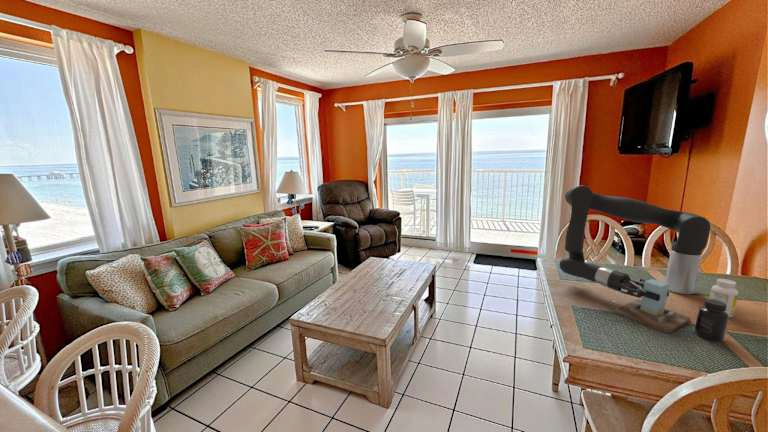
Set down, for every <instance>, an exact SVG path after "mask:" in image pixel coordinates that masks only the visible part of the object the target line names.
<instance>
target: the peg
mask: <svg viewBox="0 0 768 432" xmlns="http://www.w3.org/2000/svg"><path fill="white" fill-rule="evenodd" d="M668 286H669V284H668V283H665V281H661V280H657V279H653V278H650V279H648V280H646V281H645V282H644V288H643V289H644V290H646V291H649V292H652V293H655V294H658V295H660V296H661V297H660V300H659V301H656V300H653V299H650V298H647V297H641V300H642V301H641V308H640V310H642V311H645V312H647V313H650V314H653V315H655V316H658V317H660V316H662V315H664V309H666V302H667V298H668V297H667V292H668V291H669V290H668Z"/></svg>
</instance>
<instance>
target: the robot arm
mask: <svg viewBox="0 0 768 432" xmlns="http://www.w3.org/2000/svg"><path fill="white" fill-rule="evenodd" d="M564 197H565V201H566V203H567V204H568V205H570V206H571V212H570V213H571V214H570V218H569V223H568V226H567V230H566V233H565V241H564V243H565V244H564V250H565V251H566V252H567V253H568V257H564V258H562V259H561V260H560V261H559V264H558V265H559V268H560V270H561V271H562V272H563V273H564V274H567V275H570V276H573V277H578V278H582V279H585V280H587V281H590V282H593V283H595V284H599V285H601V286H603V287H605V288H607V289H611V290H614V291H616V292H620V293H621V294H624V295H627V296H628V295H629V296H632V297H635V298H638V299H642V297H647V298H650V299H653V300H656V301H659V300H660V297H661V296H660V295H658V294H655V293H652V292H649V291H646V290H644V282H645V281H647V280H646V279H642V278H640V279H639V280H637V279H631V277H630V275H629V274H628V273H625V272H622V271H618V270H616V269H615V270H614V269H612V268H608V267H603V266H600V265H598V264H597V265H596V264H593V263H586V262H585V254H584V244H585V243H584V242H585V234H586V233H585V232H586V226H587V220H588V215H589V210H593V211H597V212H601V213H603V214H606V215H610V216H612V217H615V218H619V219H622V220H626V221H629V222H634V223H638V224H639V223H640V224H649V225H651V224H652V225H657V226H661V227H664V228H665V229H666V228H667V229H668V230H669V229H670V230H672V231H674V232H677V233H678V237H677V240H676V242H673V243H672V244H671V248H670V254H669V258H668V265H667V269H666V276H665V281H664V282H665V283H668V284H669V286H668V292H667V298H668V297H669V295H670V292H673V293H676V294H679V295H680V294H681V295H692V294H694V295H695V294H698V288H699V283H700V278H701V275H702V274H701V272H700V264H701V258H702V254H703V251H704V250H705V248H707V244H708V240H709V238H710V233H711V223H710V221H709V220H708V219H707V218H706V217H703V216H701V215H699V214H695V213H692V212H686V211H678V210H673V209H672V210H671V209H668V208H664V207H660V206H657V205H654V204H652V203H649V202H646V201H641V200H639V199H634V198H630V197H621V196H615V195H614V196H612V195H605V194H599V193H596V192H593V190H592V189H591V188H590V187H588V186H587V185H576V186H574V187H571V188H569V189H568V190H567V191H566V193H565V195H564Z"/></svg>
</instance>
